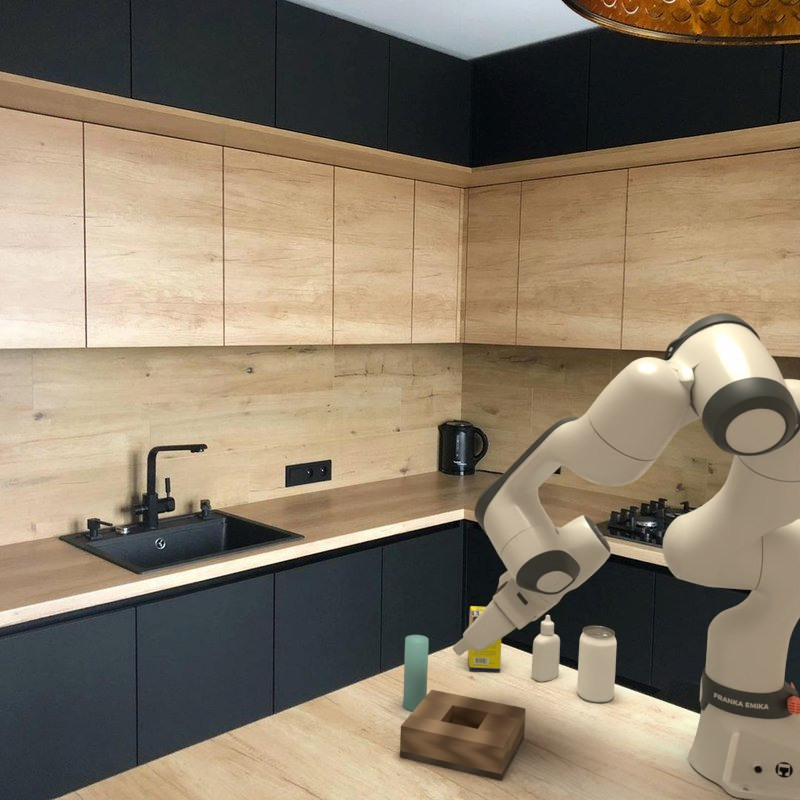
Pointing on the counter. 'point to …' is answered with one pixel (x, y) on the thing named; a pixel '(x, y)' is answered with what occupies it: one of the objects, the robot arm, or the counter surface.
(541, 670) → the eye dropper bottle
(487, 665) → the supplement box
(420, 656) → the teal pin
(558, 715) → the counter surface
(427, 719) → the walnut holder
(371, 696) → the counter surface
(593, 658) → the can
